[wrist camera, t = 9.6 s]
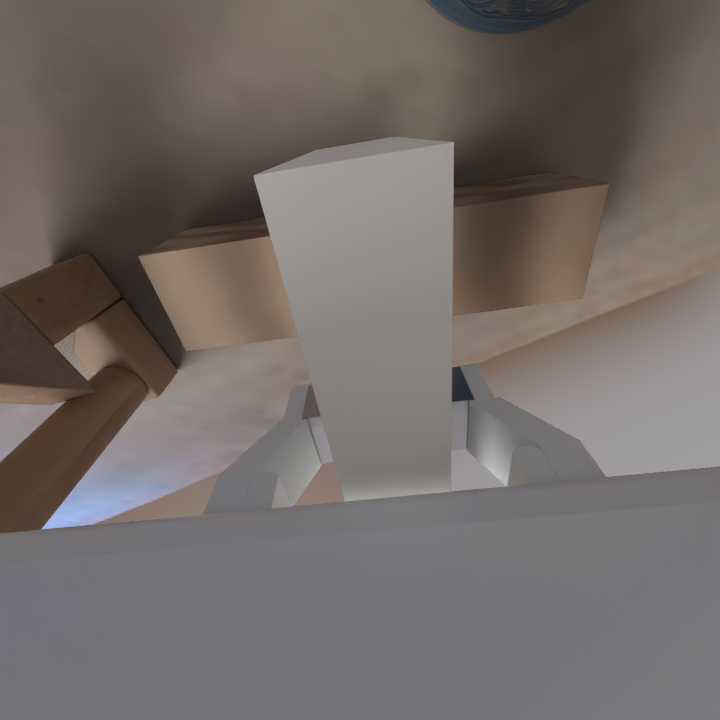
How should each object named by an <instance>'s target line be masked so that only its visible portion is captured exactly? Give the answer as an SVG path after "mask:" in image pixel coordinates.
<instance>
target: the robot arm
mask: <svg viewBox="0 0 720 720" xmlns="http://www.w3.org/2000/svg"><path fill="white" fill-rule="evenodd" d="M459 449H467V451H468V452H470V453H471V454H472V455H473V456H474V457H475V458H476V459H477V460H478V461H479V462H481V463H482V464H483V465H484V466H485V467H486V468H487V469H488V470H489V471H491V473H493V474H494V475H495V476H496V477H497V478H498V479H499V480H500V481H501V482H503V483H504V484H505V485H506V487H497V488H484V489H474V490H463V491H452V492H441V493H430V494H419V495H409V496H398V497H387V498H376V499H366V500H355V501H344V502H334V503H323V504H312V505H301V506H293V505H294V504H295V503H296V501H297V500H298V498H299V496H300V495H301V494H302V492H303V491H304V489H305V488H306V487H307V485H308V484H309V482H310V481H311V479H312V478H313V477H314V475H315V474H316V472H317V471H318V469H319V468H320V466H321V464H323V463H331V462H333V458H332V455H331V451H330V447H329V444H328V440H327V437H326V433H325V430H324V426H323V422H322V419H321V415H320V412H319V408H318V405H317V401H316V397H315V394H314V390H313V387H312V384H303V385H294V386H293V387H292V389H291V393H290V397H289V401H288V405H287V409H286V412H285V416H284V420H283V422H278V423H277V424H276V425H275V426H274V427H272V428H271V429H270V430H269V431H268V432H267V433H266V434H265V435H264V436H262V437H261V438H260V439H259V440H258V441H257V442H256V443H255V444H254V445H253V446H251V447H250V448H249V449H248V450H247V451H246V452H245V453H244V454H243V455H241V456H240V457H239V458H238V459H237V460H236V461H235V462H234V463H233V464H231V465H230V466H229V467H228V468H227V469H226V470H225V471H224V472H223V473H222V474H220V475H219V476H218V478H217V481H216V483H215V486H214V488H213V491H212V493H211V496H210V498H209V500H208V503H207V506H206V508H205V510H204V513H203V515H195V516H183V517H172V518H163V519H151V520H140V521H129V522H118V523H108V524H97V525H86V526H75V527H64V528H54V529H43V530H32V531H21V532H10V533H0V720H720V467H711V468H701V469H689V470H678V471H667V472H657V473H646V474H636V475H624V476H613V477H606V476H605V475H604V473H603V472H602V470H601V469H600V468H599V467H598V465H597V464H596V462H595V461H594V459H593V458H592V457H591V455H590V454H589V453H588V452H587V450H586V448H585V447H584V446H583V444H582V443H581V441H580V440H578V439H576V438H574V437H573V436H571V435H569V434H567V433H565V432H563V431H561V430H560V429H558V428H556V427H554V426H552V425H550V424H549V423H547V422H545V421H543V420H541V419H539V418H537V417H536V416H534V415H532V414H530V413H528V412H526V411H525V410H523V409H521V408H519V407H517V406H515V405H513V404H512V403H510V402H508V401H506V400H504V399H502V398H500V397H498V398H495V397H494V395H493V393H492V391H491V389H490V387H489V386H488V384H487V382H486V380H485V378H484V376H483V374H482V372H481V370H480V369H479V367H478V365H477V364H470V365H463V366H459V367H452V419H451V450H459Z"/></svg>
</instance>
